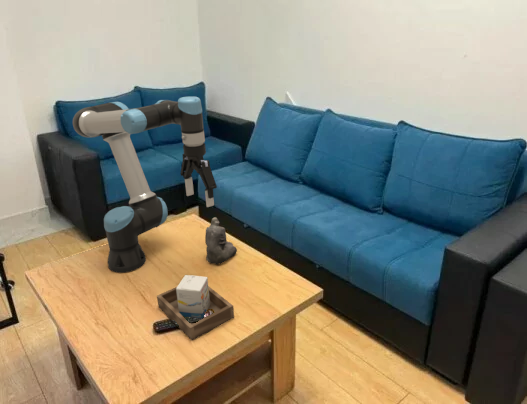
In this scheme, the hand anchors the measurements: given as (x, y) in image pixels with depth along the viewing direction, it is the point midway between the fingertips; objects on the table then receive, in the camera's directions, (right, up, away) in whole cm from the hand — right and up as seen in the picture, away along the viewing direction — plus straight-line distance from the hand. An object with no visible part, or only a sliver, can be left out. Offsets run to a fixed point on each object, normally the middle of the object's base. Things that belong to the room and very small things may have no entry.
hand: (199, 200), depth 156 cm
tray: (0, -38, -8) cm, 39 cm away
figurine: (+5, -24, +24) cm, 35 cm away
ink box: (0, -38, -8) cm, 39 cm away
